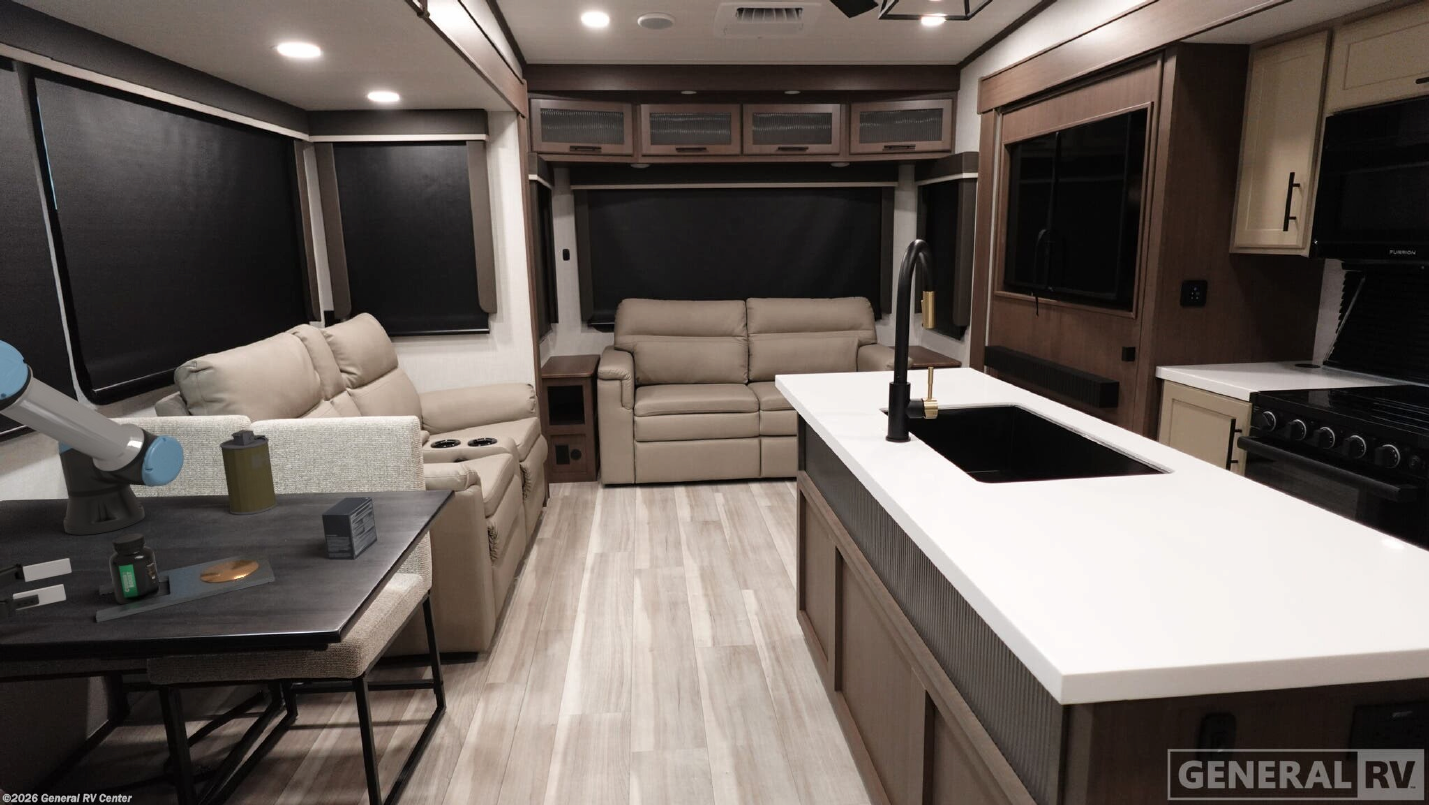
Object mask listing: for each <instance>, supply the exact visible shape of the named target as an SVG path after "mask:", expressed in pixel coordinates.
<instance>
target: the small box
mask: <svg viewBox="0 0 1429 805" xmlns="http://www.w3.org/2000/svg"><path fill="white" fill-rule="evenodd" d="M321 519H322V525H323V534H324V541H325V549H326V553H327V554H326V556H327V560H356V559H357V558H358V557H360V556H361V555H362V554H363V553H364V552H366V550H368V549H369V548H370V547H371V546H372V545H373V544H375V543H376V542H377V541H378V537H377V529H376V522H375V514H374V504H373V498H372V496H367V497H364V496H363V497H361V496H360V497H357V496H356V497H353V496H352V497H350V496H349V497H344V498H343V499H342V500H341V501H339V502H338V503H336V504H334V505H333V506H332V507H330V508H328V509H327V510H326V511H325V512H323V513H322V514H321Z"/></svg>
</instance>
